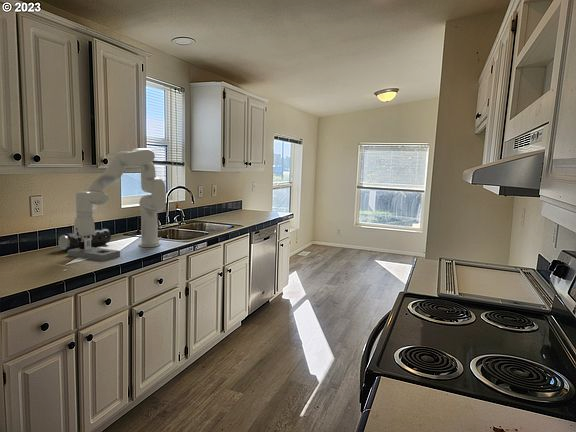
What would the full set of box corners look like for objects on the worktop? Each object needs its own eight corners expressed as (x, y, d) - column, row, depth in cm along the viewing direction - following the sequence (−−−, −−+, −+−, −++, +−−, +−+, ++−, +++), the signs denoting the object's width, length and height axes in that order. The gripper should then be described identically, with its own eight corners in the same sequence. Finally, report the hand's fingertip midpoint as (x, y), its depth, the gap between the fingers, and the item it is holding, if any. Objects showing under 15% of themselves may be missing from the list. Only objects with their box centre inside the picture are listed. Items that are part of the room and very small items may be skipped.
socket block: (86, 252, 216) (86, 245, 216) (120, 257, 208) (120, 250, 208) (67, 256, 205) (67, 249, 205) (102, 261, 197) (102, 254, 197)
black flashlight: (111, 245, 237) (111, 228, 236) (68, 253, 212) (68, 235, 211) (100, 243, 241) (100, 227, 240) (57, 251, 216) (56, 233, 215)
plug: (85, 253, 211) (85, 237, 210) (92, 254, 210) (91, 238, 209) (79, 255, 207) (79, 238, 206) (86, 256, 206) (85, 239, 205)
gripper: (91, 212, 215) (92, 244, 217) (65, 215, 199) (66, 250, 202) (102, 213, 213) (102, 246, 215) (76, 216, 197) (77, 251, 199)
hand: (85, 247), depth 208 cm, fingers closed on plug, 4 cm apart
